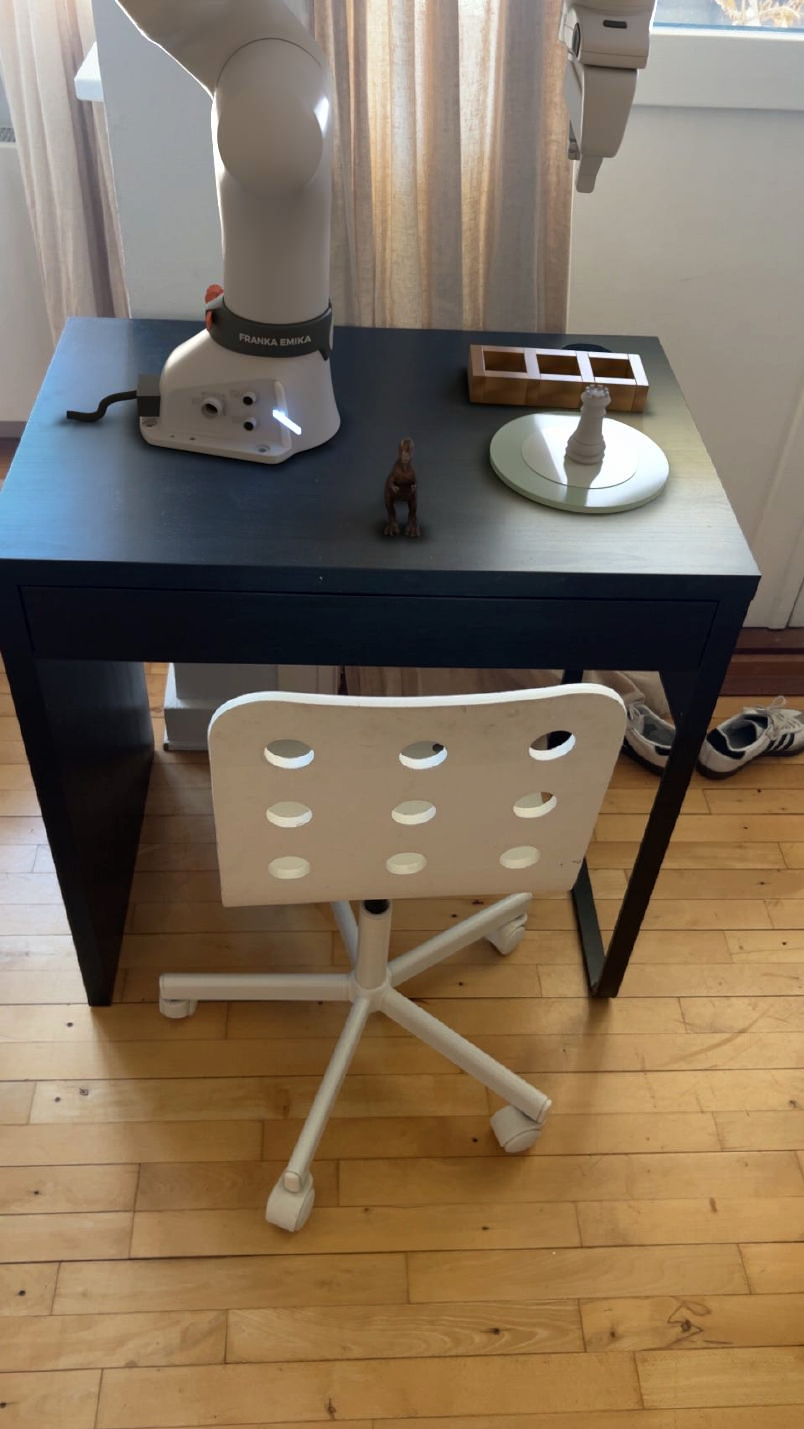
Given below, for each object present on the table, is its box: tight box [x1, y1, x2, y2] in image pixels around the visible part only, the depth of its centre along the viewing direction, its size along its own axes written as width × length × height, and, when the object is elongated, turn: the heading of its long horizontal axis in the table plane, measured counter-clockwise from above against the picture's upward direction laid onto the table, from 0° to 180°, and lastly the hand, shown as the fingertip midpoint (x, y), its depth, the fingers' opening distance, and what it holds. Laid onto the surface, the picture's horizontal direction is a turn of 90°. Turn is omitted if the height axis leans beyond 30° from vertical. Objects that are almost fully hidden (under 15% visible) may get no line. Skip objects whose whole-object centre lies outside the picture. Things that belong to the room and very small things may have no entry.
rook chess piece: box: [565, 384, 611, 465], centre depth 126 cm, size 4×4×8 cm
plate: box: [488, 410, 670, 514], centre depth 130 cm, size 20×20×1 cm
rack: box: [466, 344, 650, 413], centre depth 141 cm, size 21×8×4 cm, turn 91°
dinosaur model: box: [383, 437, 421, 538], centre depth 117 cm, size 4×12×15 cm
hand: (578, 174), depth 120 cm, fingers open, 8 cm apart
